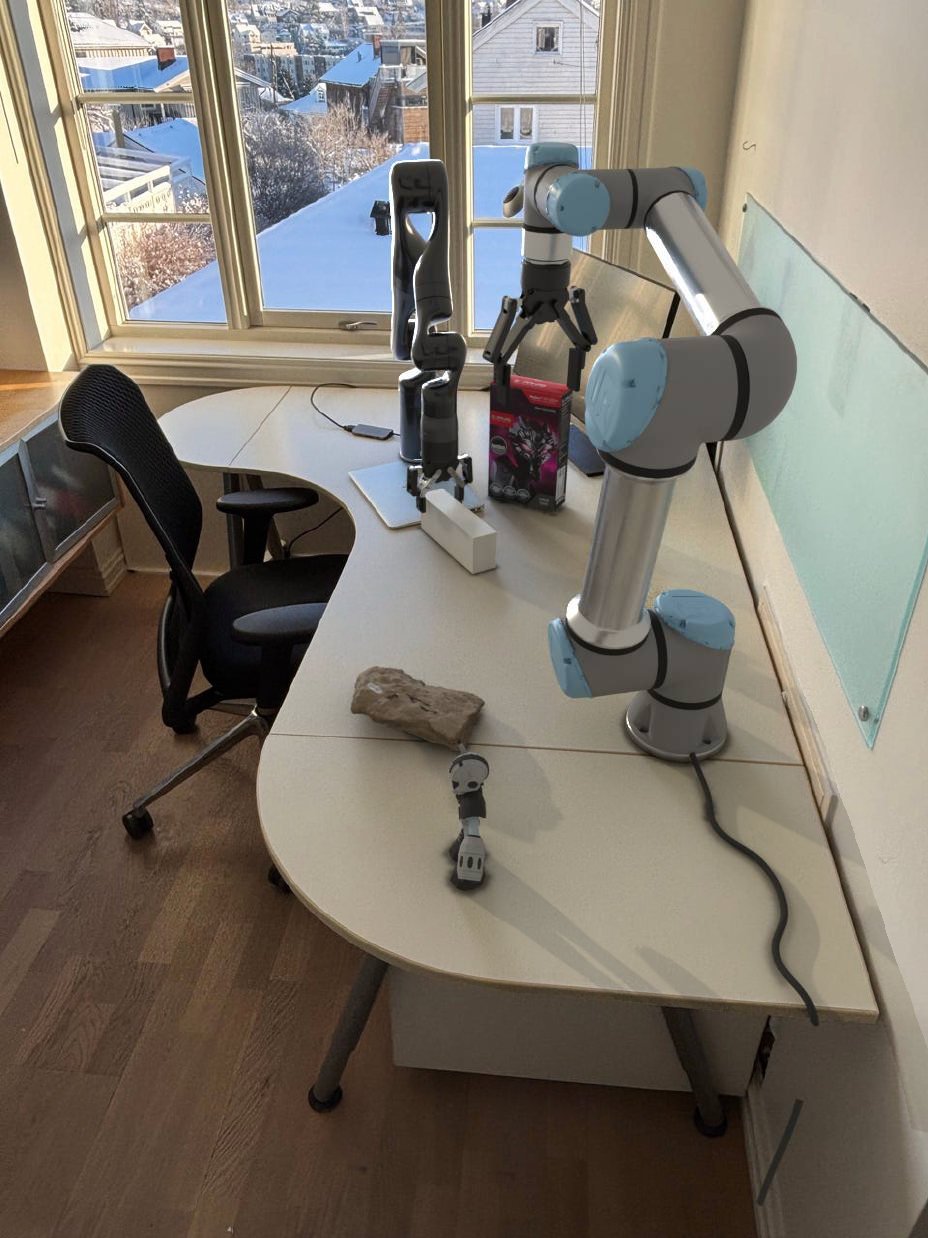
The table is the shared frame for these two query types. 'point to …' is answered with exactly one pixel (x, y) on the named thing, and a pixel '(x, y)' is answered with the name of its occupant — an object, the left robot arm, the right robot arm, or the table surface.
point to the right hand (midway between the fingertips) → (538, 396)
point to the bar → (459, 531)
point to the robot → (469, 818)
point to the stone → (416, 706)
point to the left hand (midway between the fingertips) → (440, 507)
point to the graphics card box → (530, 443)
